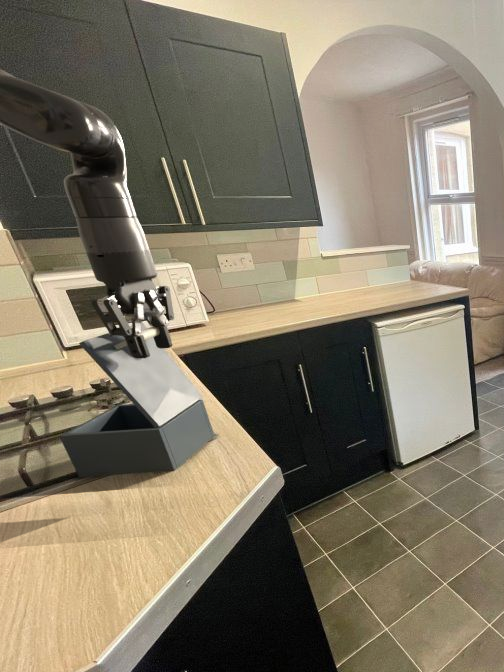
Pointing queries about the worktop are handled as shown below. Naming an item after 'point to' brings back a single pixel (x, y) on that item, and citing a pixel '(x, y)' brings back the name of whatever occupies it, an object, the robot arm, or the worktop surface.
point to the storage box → (136, 441)
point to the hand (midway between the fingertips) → (153, 352)
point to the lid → (145, 375)
